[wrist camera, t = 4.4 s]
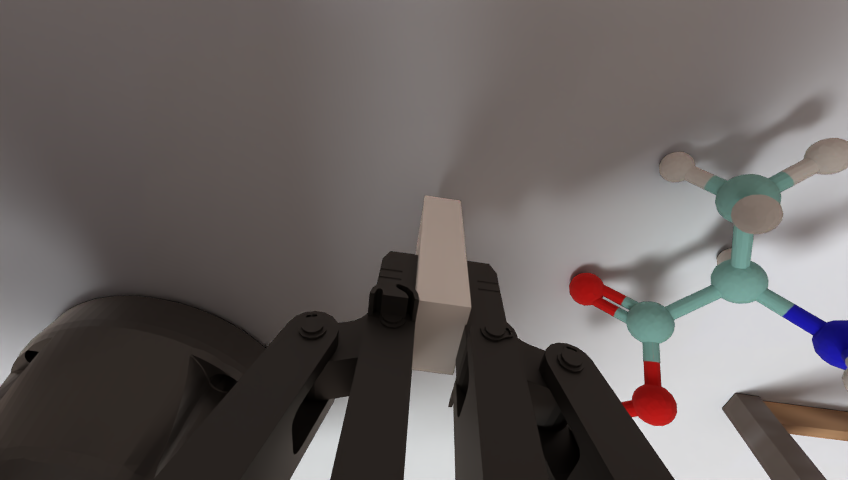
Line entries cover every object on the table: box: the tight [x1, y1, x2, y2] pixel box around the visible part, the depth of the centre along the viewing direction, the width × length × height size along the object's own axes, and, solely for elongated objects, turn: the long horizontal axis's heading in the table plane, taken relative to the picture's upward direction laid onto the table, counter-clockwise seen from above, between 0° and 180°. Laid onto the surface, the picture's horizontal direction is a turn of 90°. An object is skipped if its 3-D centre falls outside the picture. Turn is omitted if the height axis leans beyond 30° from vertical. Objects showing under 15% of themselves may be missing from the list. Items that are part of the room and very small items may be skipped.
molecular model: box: [569, 138, 848, 426], centre depth 15 cm, size 12×10×10 cm
